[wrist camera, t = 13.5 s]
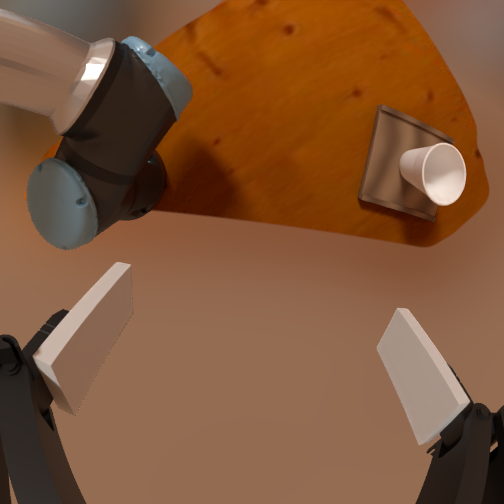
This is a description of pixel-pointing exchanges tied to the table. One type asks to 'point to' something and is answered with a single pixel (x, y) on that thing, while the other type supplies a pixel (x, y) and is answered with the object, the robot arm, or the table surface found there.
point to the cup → (435, 172)
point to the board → (397, 162)
